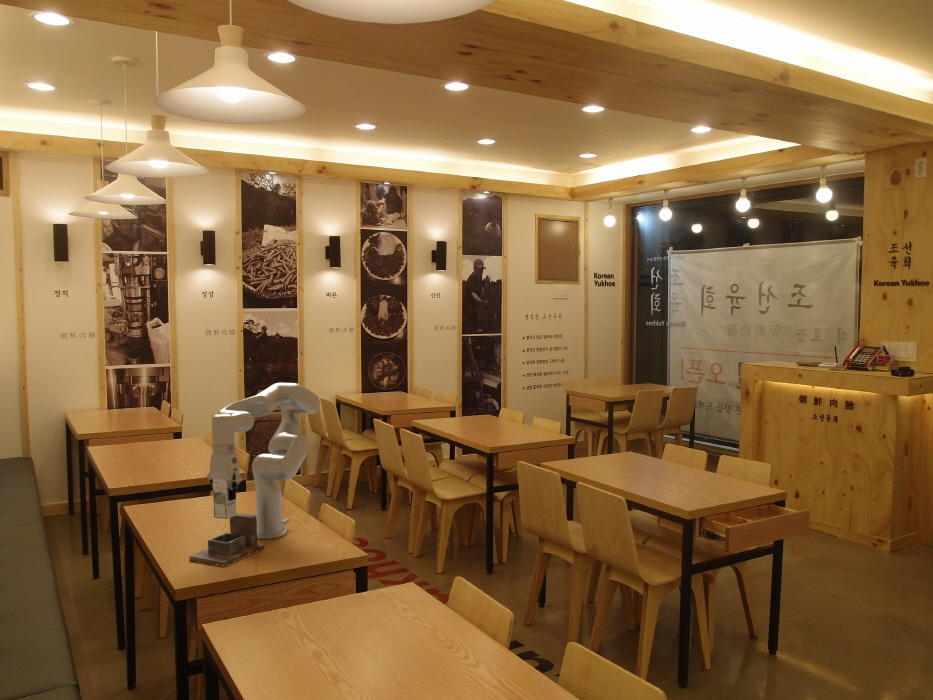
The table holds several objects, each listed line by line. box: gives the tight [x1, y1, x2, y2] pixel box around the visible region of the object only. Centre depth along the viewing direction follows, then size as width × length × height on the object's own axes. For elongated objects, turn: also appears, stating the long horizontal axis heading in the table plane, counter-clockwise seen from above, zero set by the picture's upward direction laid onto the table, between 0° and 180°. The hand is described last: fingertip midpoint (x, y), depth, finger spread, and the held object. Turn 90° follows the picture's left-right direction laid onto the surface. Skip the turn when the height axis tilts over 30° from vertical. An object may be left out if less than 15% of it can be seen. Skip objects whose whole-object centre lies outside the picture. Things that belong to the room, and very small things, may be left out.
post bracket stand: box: [188, 512, 265, 567], centre depth 262 cm, size 20×16×12 cm
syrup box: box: [212, 478, 238, 520], centre depth 260 cm, size 6×6×14 cm
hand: (224, 498), depth 261 cm, fingers closed on syrup box, 6 cm apart
